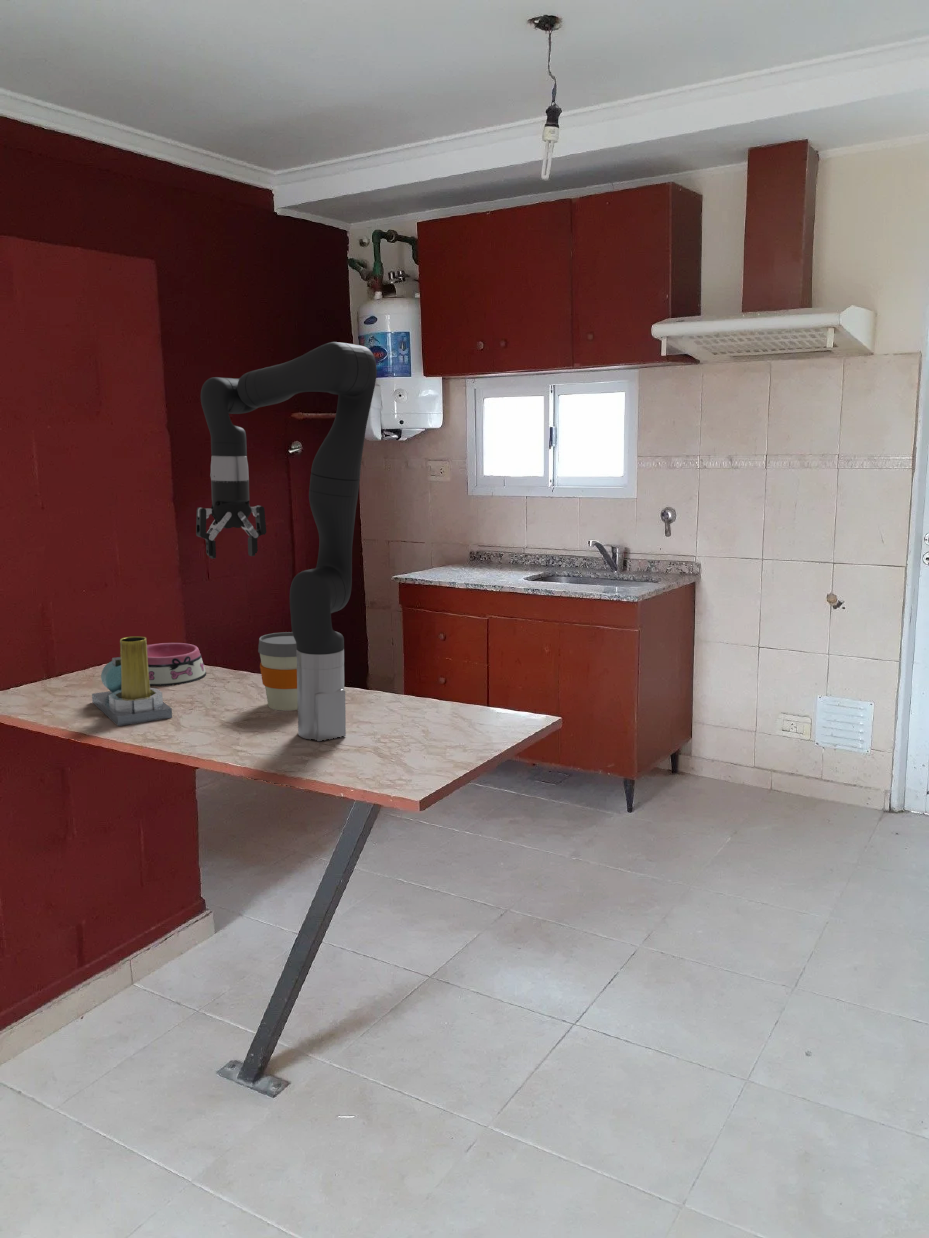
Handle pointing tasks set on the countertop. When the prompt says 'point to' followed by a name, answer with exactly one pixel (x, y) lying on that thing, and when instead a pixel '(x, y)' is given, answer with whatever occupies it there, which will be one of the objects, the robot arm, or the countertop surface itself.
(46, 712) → the countertop surface
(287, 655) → the reusable coffee cup
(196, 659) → the dog bowl
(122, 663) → the vase
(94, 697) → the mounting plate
